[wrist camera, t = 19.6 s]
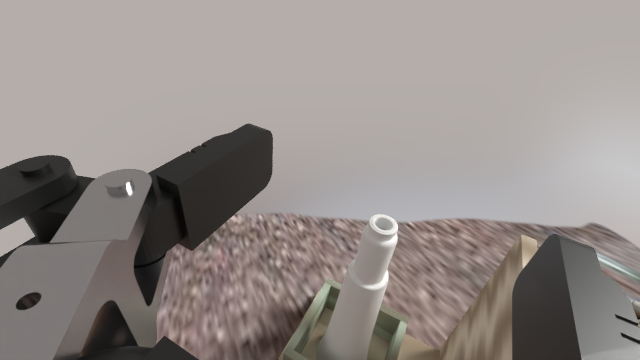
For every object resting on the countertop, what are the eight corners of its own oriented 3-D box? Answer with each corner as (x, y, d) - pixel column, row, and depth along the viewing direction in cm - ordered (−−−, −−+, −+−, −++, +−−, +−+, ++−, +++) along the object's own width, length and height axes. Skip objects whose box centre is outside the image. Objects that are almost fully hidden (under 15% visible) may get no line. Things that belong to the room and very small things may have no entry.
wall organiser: (320, 293, 45) (343, 168, 32) (446, 358, 39) (536, 240, 26) (252, 407, 33) (244, 283, 20) (419, 525, 27) (560, 459, 14)
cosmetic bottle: (366, 390, 34) (429, 261, 21) (312, 379, 34) (342, 246, 21) (366, 336, 39) (418, 204, 26) (319, 327, 39) (347, 193, 26)
